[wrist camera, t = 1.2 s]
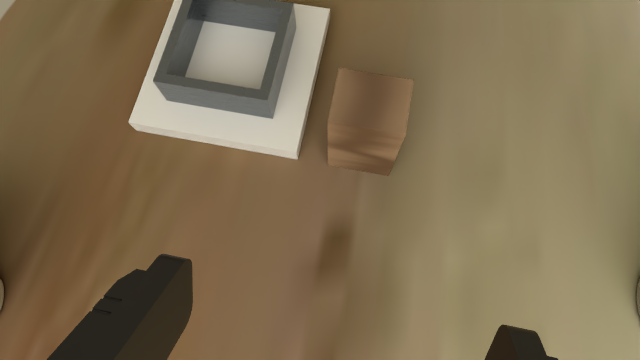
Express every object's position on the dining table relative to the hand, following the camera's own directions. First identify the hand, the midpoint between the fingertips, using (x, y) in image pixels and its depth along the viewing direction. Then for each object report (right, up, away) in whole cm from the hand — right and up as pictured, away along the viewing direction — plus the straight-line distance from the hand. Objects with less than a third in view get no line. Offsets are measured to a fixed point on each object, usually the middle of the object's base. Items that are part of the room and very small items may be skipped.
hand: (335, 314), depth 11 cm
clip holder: (-8, +13, +26) cm, 30 cm away
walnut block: (+3, +6, +24) cm, 25 cm away
